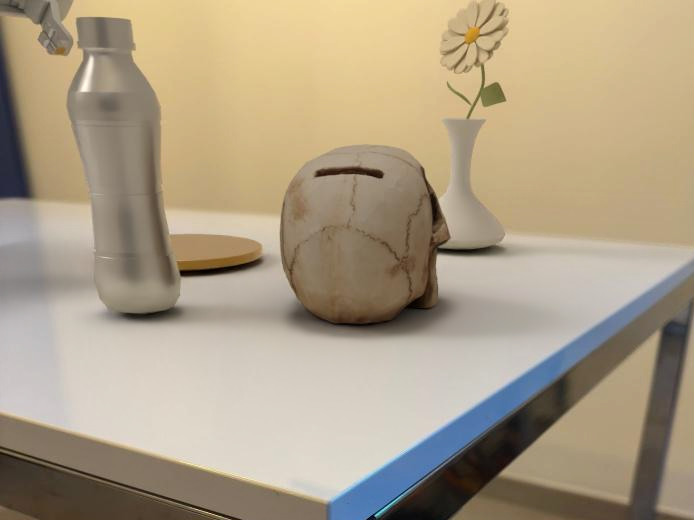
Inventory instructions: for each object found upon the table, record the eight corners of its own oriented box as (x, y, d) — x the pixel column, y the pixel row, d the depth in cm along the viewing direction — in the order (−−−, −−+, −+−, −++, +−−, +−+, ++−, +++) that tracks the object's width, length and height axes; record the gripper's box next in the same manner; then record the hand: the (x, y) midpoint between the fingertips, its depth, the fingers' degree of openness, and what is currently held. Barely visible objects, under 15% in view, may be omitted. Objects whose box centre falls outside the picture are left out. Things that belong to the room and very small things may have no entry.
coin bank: (400, 276, 76) (407, 124, 68) (494, 340, 63) (515, 162, 55) (244, 295, 70) (233, 131, 63) (313, 369, 57) (308, 175, 50)
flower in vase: (392, 242, 95) (397, 0, 84) (472, 238, 100) (488, 6, 88) (444, 261, 85) (458, -13, 73) (531, 255, 89) (557, -5, 78)
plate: (65, 271, 77) (63, 255, 76) (143, 244, 91) (141, 231, 91) (230, 280, 74) (229, 264, 73) (282, 251, 89) (282, 237, 88)
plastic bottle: (152, 326, 59) (113, 13, 50) (80, 316, 61) (30, 15, 52) (200, 307, 64) (173, 22, 55) (132, 299, 66) (95, 24, 57)
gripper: (-267, -200, 46) (-114, -9, 47) (19, -122, 62) (130, 20, 63) (-279, -99, 50) (-137, 77, 50) (-7, -50, 66) (98, 83, 67)
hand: (13, 45), depth 57 cm, fingers open, 8 cm apart
